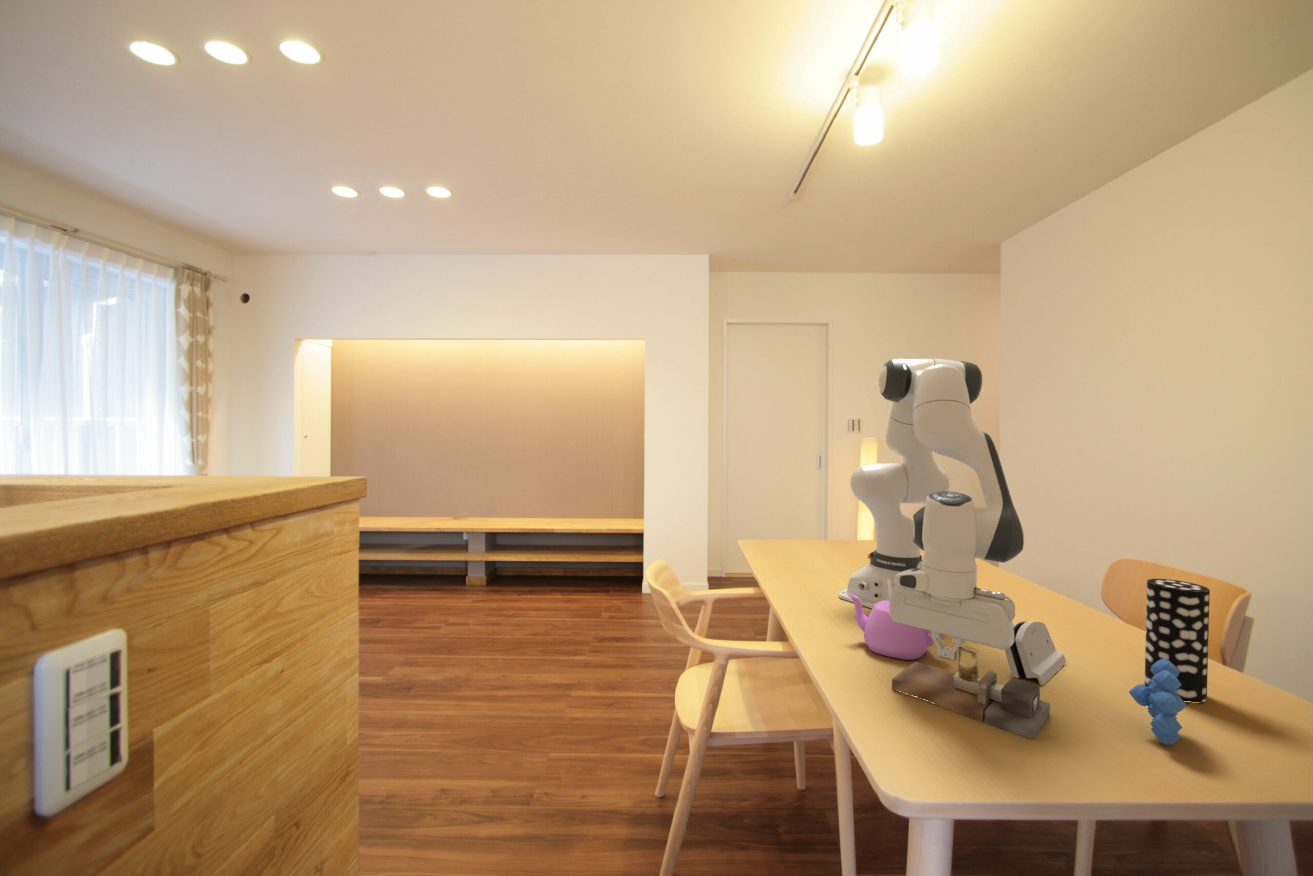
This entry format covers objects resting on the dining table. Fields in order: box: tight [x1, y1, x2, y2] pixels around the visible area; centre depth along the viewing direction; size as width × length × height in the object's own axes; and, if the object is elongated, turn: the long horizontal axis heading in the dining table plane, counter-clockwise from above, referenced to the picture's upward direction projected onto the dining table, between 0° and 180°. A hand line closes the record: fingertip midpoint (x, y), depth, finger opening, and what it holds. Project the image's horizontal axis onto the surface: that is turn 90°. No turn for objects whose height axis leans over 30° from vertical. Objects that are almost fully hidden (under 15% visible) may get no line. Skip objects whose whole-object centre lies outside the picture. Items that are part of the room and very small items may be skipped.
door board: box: [891, 661, 1051, 741], centre depth 96 cm, size 22×11×5 cm, turn 43°
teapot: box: [847, 593, 945, 661], centre depth 119 cm, size 13×20×11 cm, turn 55°
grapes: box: [1128, 659, 1187, 746], centre depth 86 cm, size 12×7×12 cm, turn 140°
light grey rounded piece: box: [1004, 620, 1067, 686], centre depth 110 cm, size 17×5×10 cm, turn 130°
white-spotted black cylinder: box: [1144, 578, 1211, 702], centre depth 100 cm, size 8×8×20 cm
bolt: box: [953, 645, 1037, 713], centre depth 93 cm, size 12×3×7 cm, turn 43°
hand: (947, 658), depth 98 cm, fingers closed
